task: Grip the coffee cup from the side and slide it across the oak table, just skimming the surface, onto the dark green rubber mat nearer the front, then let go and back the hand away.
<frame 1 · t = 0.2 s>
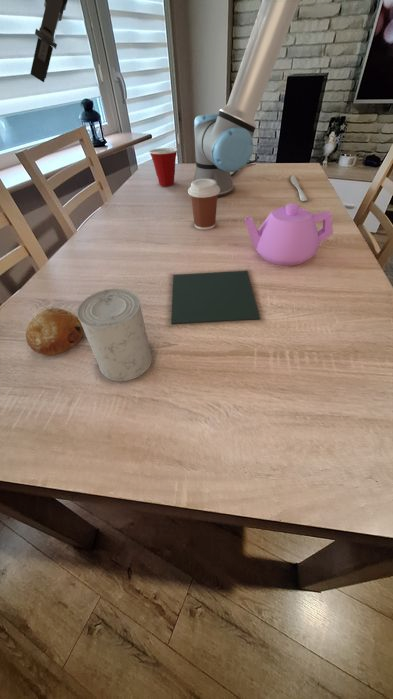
hand: (38, 76, 70), 36 cm above the table, tool tilted 35°, fingers open, 13 cm apart
mat: (212, 295, 67), on the table
coffee cup: (204, 225, 93), on the table
teapot: (283, 253, 79), on the table
grey tin can: (126, 361, 55), on the table
bread roll: (60, 338, 60), on the table
plastic cup: (166, 184, 121), on the table
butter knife: (297, 188, 111), on the table
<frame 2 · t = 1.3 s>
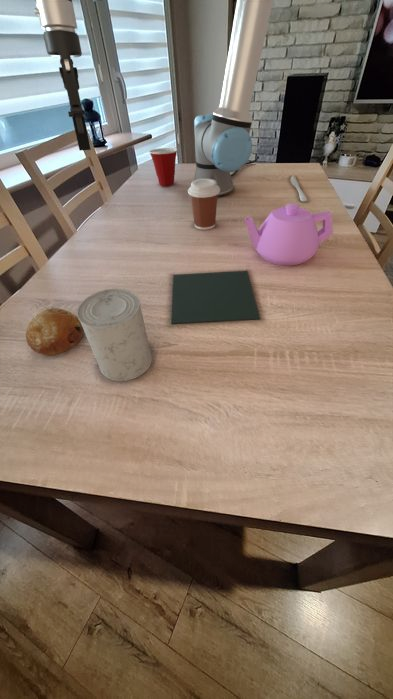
hand: (84, 147, 80), 21 cm above the table, tool pointing down, fingers open, 13 cm apart
nothing on the table moved.
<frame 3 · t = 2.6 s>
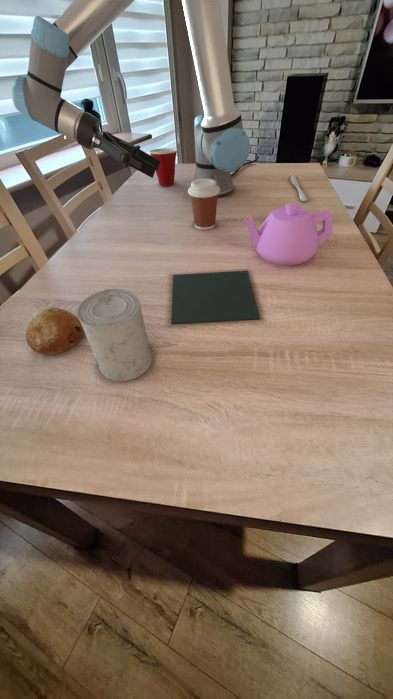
hand: (157, 169, 84), 15 cm above the table, tool tilted 60°, fingers open, 13 cm apart
nothing on the table moved.
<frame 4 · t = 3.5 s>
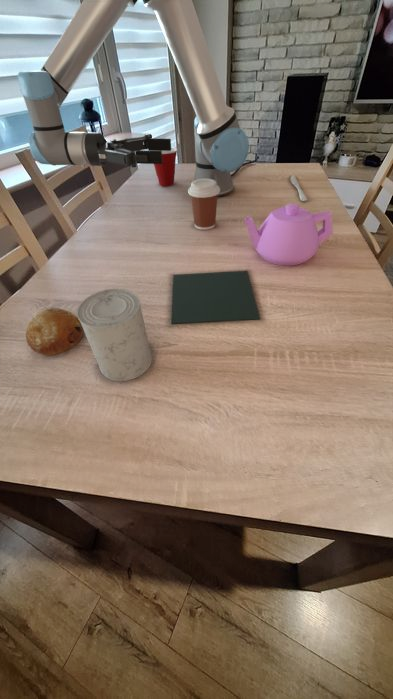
hand: (166, 150, 80), 20 cm above the table, tool horizontal, fingers open, 13 cm apart
nothing on the table moved.
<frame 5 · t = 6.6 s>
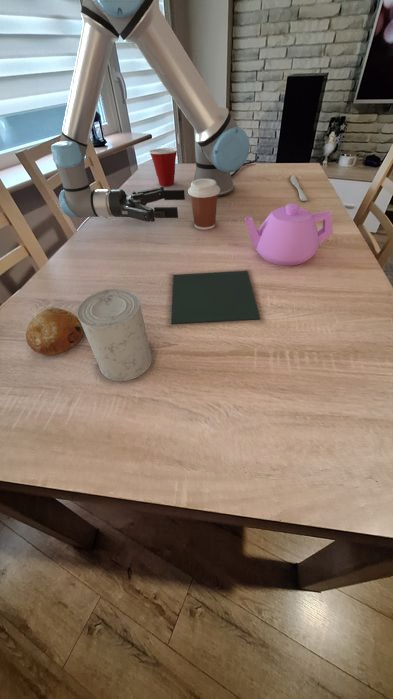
hand: (181, 203, 89), 6 cm above the table, tool horizontal, fingers open, 13 cm apart
nothing on the table moved.
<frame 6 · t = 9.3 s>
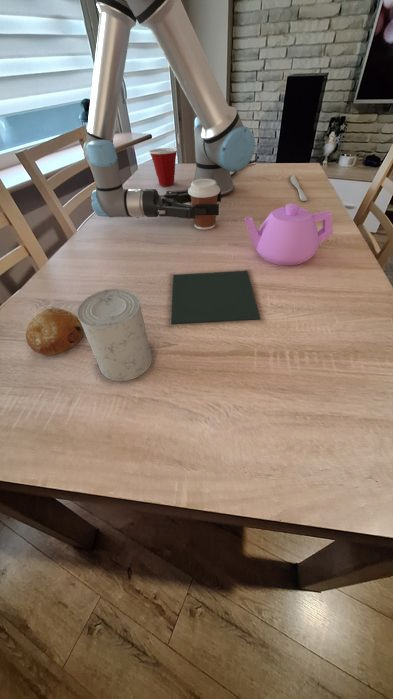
hand: (219, 202, 88), 6 cm above the table, tool horizontal, fingers closed on coffee cup, 9 cm apart
coffee cup: (204, 225, 93), on the table, touching gripper
everything else where it was.
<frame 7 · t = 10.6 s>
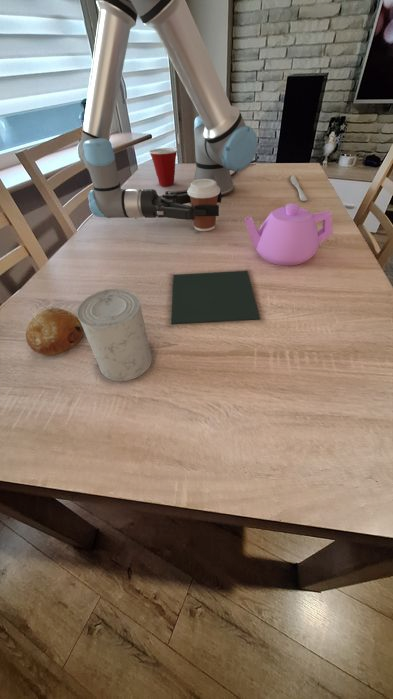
hand: (219, 203, 85), 7 cm above the table, tool horizontal, fingers closed on coffee cup, 9 cm apart
coffee cup: (204, 226, 91), point 1 cm above the table, touching gripper
everything else where it was.
when the fingers open (7 cm above the table, at t = 18.2 s): coffee cup stays where it is, resting on mat.
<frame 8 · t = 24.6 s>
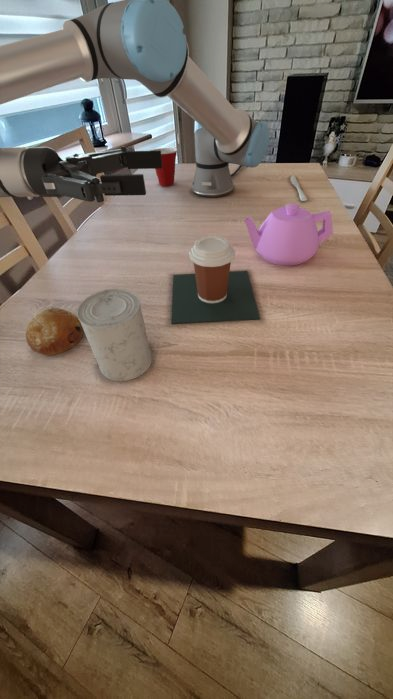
hand: (153, 171, 50), 25 cm above the table, tool horizontal, fingers open, 13 cm apart
coffee cup: (212, 295, 67), resting on mat
everything else where it was.
at the end: coffee cup inside the target area on the mat (0.1 cm from its centre), point 0.1 cm above the mat's base; coffee cup tilted 0°; coffee cup moved 36.8 cm from its start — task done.
